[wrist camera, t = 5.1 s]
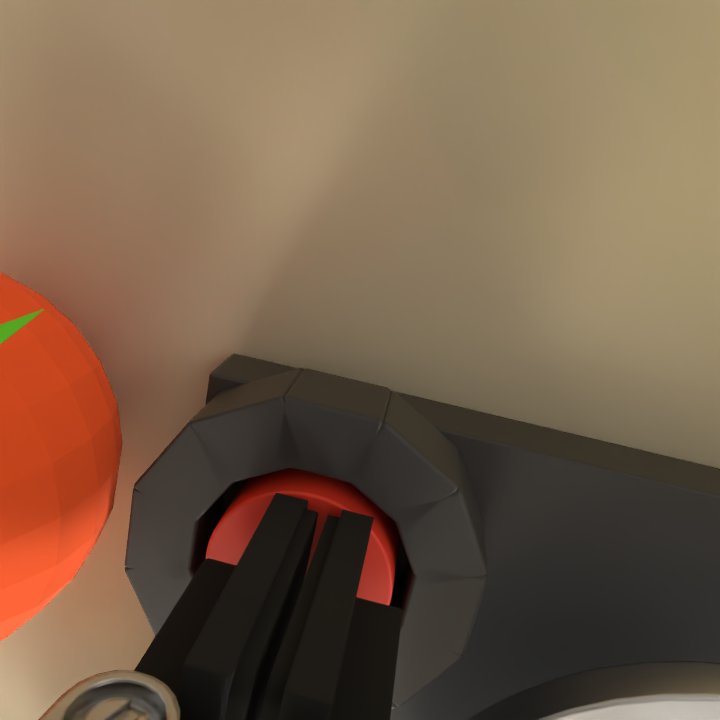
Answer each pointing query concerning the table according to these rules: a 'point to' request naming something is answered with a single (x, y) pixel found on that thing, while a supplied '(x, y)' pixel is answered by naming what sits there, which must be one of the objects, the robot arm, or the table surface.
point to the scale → (456, 530)
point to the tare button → (325, 500)
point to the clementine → (49, 452)
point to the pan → (619, 695)
